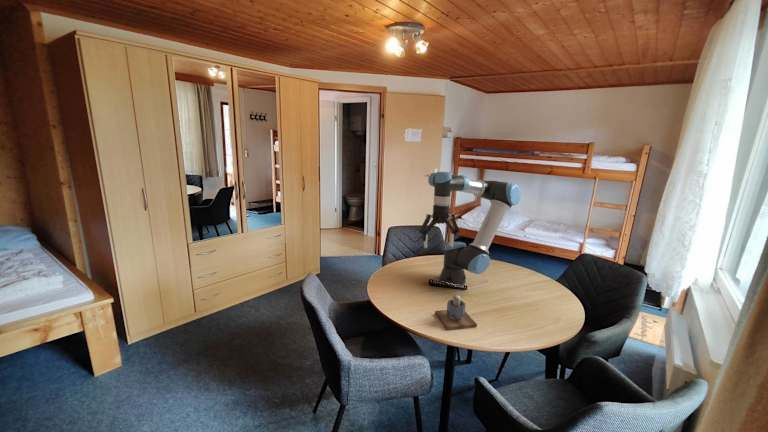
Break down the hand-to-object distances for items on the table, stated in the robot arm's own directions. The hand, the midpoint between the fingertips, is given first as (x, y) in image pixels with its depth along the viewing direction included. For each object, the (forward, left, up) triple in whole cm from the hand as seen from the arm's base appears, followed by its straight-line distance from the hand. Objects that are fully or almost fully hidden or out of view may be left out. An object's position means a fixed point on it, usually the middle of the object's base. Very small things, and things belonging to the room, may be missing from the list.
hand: (438, 246), depth 161 cm
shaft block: (-2, +20, -29) cm, 35 cm away
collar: (-2, +20, -25) cm, 32 cm away
